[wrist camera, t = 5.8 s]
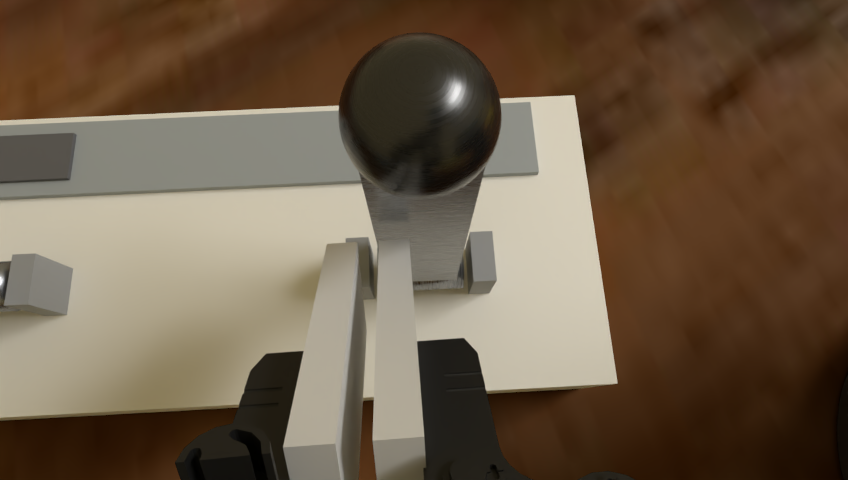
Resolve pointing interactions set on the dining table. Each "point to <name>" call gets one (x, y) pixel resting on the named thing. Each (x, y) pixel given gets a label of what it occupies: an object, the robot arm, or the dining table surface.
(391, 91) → the right lever
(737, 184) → the dining table surface
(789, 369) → the dining table surface
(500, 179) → the switch unit
